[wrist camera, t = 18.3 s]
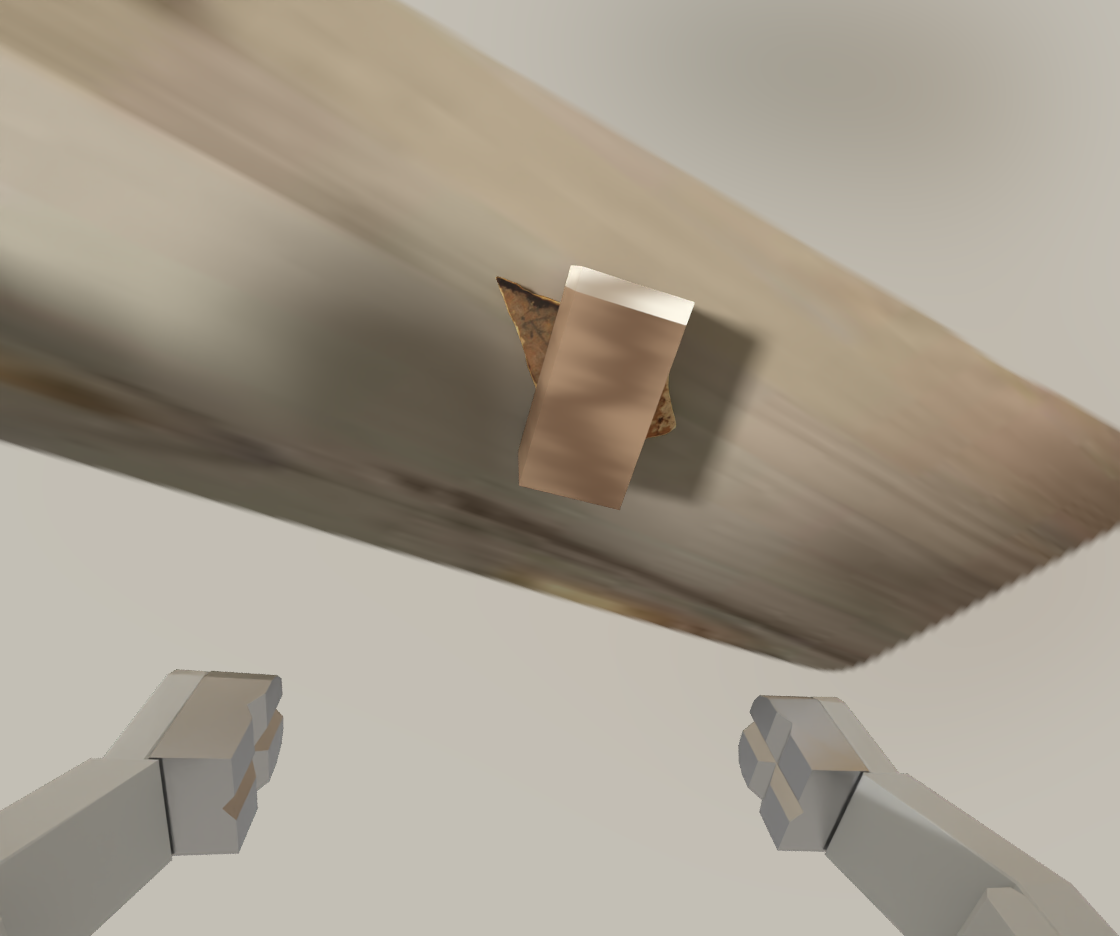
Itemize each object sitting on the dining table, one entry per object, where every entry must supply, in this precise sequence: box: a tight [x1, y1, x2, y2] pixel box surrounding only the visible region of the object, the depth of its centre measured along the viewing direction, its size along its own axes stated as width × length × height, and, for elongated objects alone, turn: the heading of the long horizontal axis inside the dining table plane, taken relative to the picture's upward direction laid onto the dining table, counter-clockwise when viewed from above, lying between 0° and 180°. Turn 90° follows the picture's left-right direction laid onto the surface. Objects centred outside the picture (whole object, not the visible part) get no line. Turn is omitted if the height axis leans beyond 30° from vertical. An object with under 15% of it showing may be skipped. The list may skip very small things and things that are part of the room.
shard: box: [496, 277, 676, 439], centre depth 30 cm, size 11×8×2 cm
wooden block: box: [518, 265, 695, 510], centre depth 27 cm, size 5×5×10 cm
